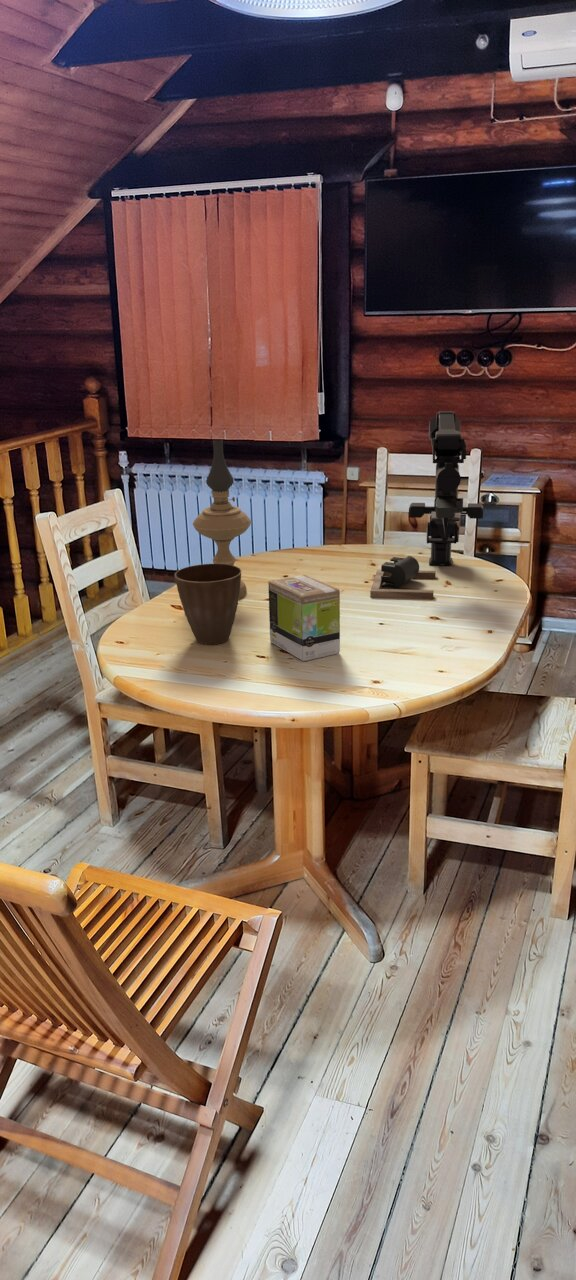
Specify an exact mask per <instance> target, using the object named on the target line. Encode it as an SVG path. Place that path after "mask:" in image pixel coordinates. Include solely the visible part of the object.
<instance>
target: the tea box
mask: <svg viewBox="0 0 576 1280" xmlns="http://www.w3.org/2000/svg"><path fill="white" fill-rule="evenodd" d="M267 584H268V614H269V615H268V616H269V617H268V619H269V640H270V643H271V644H273V645H276V646H277V647H278V648H279V649H282V650H284V651H285V652H287V653H288V654H290V655H292V656H294V657H295V658H297V659H299V660H300V661H301V662H306V661H312V660H317V659H321V658H324V657H328V656H333V655H337V654H340V652H341V629H340V628H341V626H340V625H341V624H340V623H341V621H340V620H341V611H340V609H341V608H340V607H341V606H340V603H341V598H340V597H341V596H340V595H341V593H340V592H341V590H340V589H339V588H337V587H335V586H332V585H331V584H328V583H325V582H323V581H320V580H318V579H315V578H313V577H312V576H311V577H310V576H308V575H306V574H303V575H295V576H289V577H285V578H279V579H275V580H268V583H267Z"/></svg>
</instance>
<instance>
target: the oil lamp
mask: <svg viewBox="0 0 576 1280" xmlns="http://www.w3.org/2000/svg"><path fill="white" fill-rule="evenodd" d="M223 441H224V440H222V439H214V440H212V444H213V445H212V446H213V447H212V449H213V459H212V463H211V467H210V470H209V472H208V475H207V478H206V482H205V483H206V485H207V486H208V487H209V488H210V489H211V498H213V502H212V503H211V505H210V506H209V507H205V508H203V509H202V512H200V513H199V514H198V515H197V516H196V518H195V519H194V520H193V522H192V526H193V527H194V529H195V531H197V532H198V534H200V535H202V536H204V537H206V538H208V539H211V540H212V541H213V542H215V544H216V546H217V551H216V553H215V555H214V557H213V558H212V564H227V565H233V566H235V565H234V564H235V562H236V561H237V559H236V558H235V556H234V555H233V553H231V550H230V545H231V542H232V541H233V540H235V538H237V537H240V536H241V535H242V534H244V533H246V532H247V530H248V529H249V527H250V526H251V525H252V520H251V518H250V517H249V516H248V515H247V513H245V512H244V511H243V510H241V508H240V507H239V506H236V505H232V504H231V501H232V502H233V503H235V501H236V498H235V497H234V496H233V497H232V498H231V499H229V497H230V489H231V487H232V486H233V484H234V482H235V481H234V477H233V475H232V473H231V471H230V469H229V468H228V466H227V463H226V460H225V455H224V443H223ZM247 590H248V589H247V586H246V583H245V582H244V581H243V580H242V579H241V583H240V592H239V599H242V598H244V597H246V596H247V593H248V592H247Z"/></svg>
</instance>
